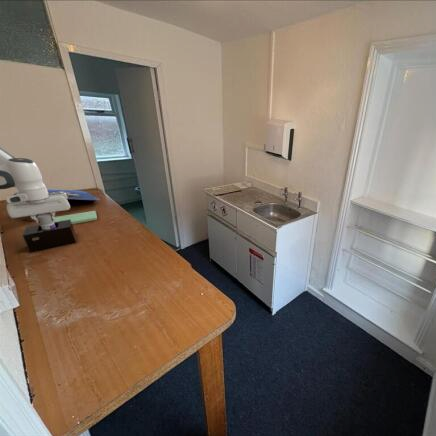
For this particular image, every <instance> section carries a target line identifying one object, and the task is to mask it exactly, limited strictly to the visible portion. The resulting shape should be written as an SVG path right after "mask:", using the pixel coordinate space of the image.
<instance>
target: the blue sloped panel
mask: <svg viewBox="0 0 436 436" xmlns="http://www.w3.org/2000/svg"><path fill="white" fill-rule="evenodd" d="M47 190H48V193H52V192H64V193H66V194H67V196H68V199H67V200H81V201H101V199H100V198H99V197H97V196H95V195H92V194H90V193H89V192H86V191H83V190H74V189H48V188H47ZM49 196H50V195H49Z"/></svg>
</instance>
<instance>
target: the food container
mask: <svg viewBox="0 0 436 436" xmlns="http://www.w3.org/2000/svg"><path fill="white" fill-rule="evenodd" d="M37 216H39V214H38V215H36V216H35V217H36V218H38V217H37ZM23 218H24V220H25V221H26V222H35V221H36V220H34V219H32V218H31V216H25V217H23Z"/></svg>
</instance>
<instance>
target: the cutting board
mask: <svg viewBox="0 0 436 436" xmlns="http://www.w3.org/2000/svg"><path fill="white" fill-rule="evenodd" d="M54 218H55V221H53V222H58V221H64V220H71V222H72V225H75V224H82V223H86V222H92V221H93V222H94V221H98V216H97V211H96V210H90V211H85V212H77V213H71V214H66V215H59V216H54Z"/></svg>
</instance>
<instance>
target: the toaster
mask: <svg viewBox="0 0 436 436" xmlns="http://www.w3.org/2000/svg"><path fill="white" fill-rule="evenodd" d="M54 224H55V226H56V228H53V229H48V230H42V228H41V225H40V224H36V225H29V226H26V227H25V229H24V231H23V234H22V237H23V240H24V241H25V244H26V246H27V248H28V250H29V252H30V253H35V252H40V251H44V250H49V249H53V248H54V249H55V248H58V247H63V246H67V245H72V244H76V243H77V233H76V231H75V228H74V224H72V222H71V220H64V221H58V222H54Z"/></svg>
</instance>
